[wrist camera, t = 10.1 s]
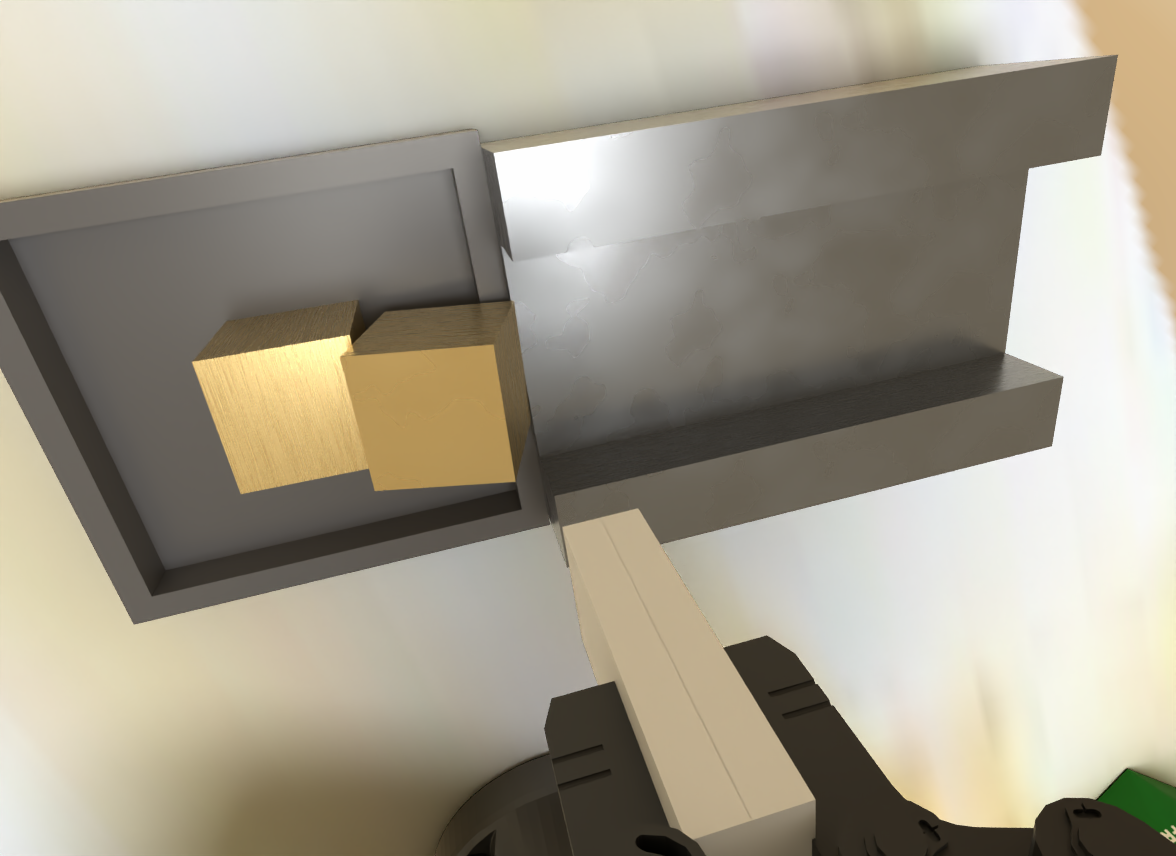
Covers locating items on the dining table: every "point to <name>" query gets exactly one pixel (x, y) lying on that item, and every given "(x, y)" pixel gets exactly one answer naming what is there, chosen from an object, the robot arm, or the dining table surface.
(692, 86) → the dining table surface
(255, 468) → the brass block
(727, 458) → the slot plate
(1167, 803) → the milk carton
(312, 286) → the tray
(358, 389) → the brass block
